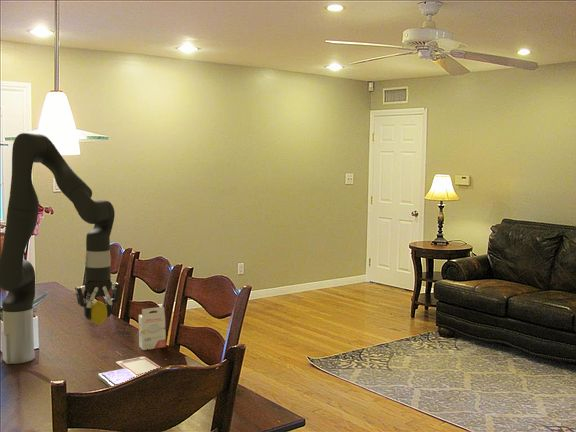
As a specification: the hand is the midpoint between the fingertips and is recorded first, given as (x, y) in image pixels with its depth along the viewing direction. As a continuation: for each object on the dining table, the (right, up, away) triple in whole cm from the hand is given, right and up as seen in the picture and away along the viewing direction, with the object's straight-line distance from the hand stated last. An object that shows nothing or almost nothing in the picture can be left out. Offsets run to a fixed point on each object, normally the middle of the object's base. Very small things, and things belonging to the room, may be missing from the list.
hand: (98, 317), depth 198 cm
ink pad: (+9, -18, -7) cm, 21 cm away
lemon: (0, -3, 0) cm, 3 cm away
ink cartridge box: (+11, -15, +27) cm, 33 cm away
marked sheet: (+12, -17, +6) cm, 22 cm away
